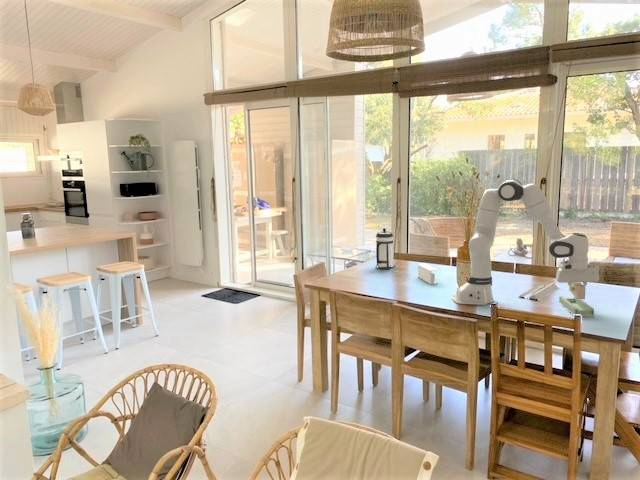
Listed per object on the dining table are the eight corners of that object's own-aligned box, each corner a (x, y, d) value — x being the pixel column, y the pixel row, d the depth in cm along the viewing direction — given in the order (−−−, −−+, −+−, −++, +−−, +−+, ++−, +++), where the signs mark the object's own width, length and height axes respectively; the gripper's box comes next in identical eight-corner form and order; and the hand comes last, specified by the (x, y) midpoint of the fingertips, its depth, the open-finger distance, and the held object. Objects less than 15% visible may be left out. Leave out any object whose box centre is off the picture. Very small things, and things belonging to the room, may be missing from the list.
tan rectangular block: (577, 299, 245) (577, 287, 244) (569, 290, 261) (569, 279, 260) (584, 299, 244) (585, 287, 243) (576, 290, 260) (576, 279, 259)
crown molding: (539, 286, 301) (539, 281, 300) (559, 289, 293) (559, 284, 292) (518, 298, 279) (518, 292, 278) (540, 302, 271) (540, 296, 270)
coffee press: (371, 266, 372) (370, 227, 367) (392, 264, 373) (391, 226, 368) (376, 271, 355) (376, 231, 350) (398, 270, 356) (397, 229, 351)
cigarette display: (437, 283, 316) (437, 269, 314) (429, 284, 315) (429, 270, 313) (424, 276, 335) (424, 263, 334) (417, 277, 334) (417, 263, 333)
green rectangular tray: (574, 316, 244) (574, 308, 243) (559, 303, 265) (559, 296, 265) (593, 316, 243) (594, 308, 242) (576, 303, 264) (576, 296, 264)
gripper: (596, 262, 252) (595, 288, 254) (555, 263, 254) (554, 288, 257) (602, 265, 245) (600, 291, 248) (559, 266, 248) (558, 292, 251)
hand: (576, 290), depth 252 cm, fingers closed on tan rectangular block, 4 cm apart
